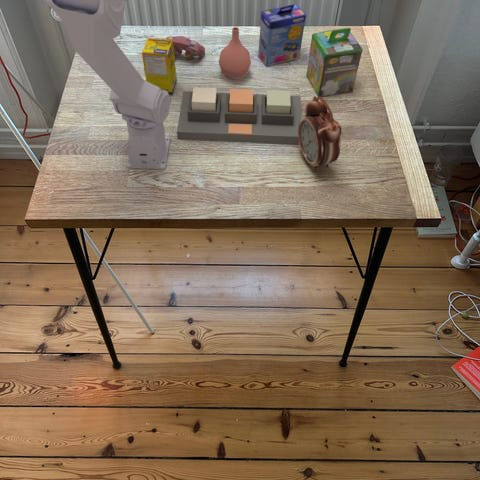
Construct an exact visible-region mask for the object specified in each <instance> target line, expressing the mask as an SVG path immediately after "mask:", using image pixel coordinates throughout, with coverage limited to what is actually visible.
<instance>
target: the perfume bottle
mask: <svg viewBox="0 0 480 480" xmlns="http://www.w3.org/2000/svg"><path fill="white" fill-rule="evenodd" d="M231 31H232V32H231V33H232V34H231V40H230V41H229V43H228V44H227V45H226V46H224V48H222V49H221V51H220V53H219V58H218V63H219V64H218V65H219V67H220V71H221V73H222V75H224V76H225V77H227V78H230V79H240V78H243V77H245V76H247V75H248V72H249V69H250V66H251V65H252V62H251V61H252V60H251V55H250V51H249V50H248V48H246V47H245V46H244V45H243V44H242V42H241V40H240V28H239V27H237V26H235V27H234V26H233V27H231Z"/></svg>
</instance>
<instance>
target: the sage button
mask: <svg viewBox="0 0 480 480" xmlns="http://www.w3.org/2000/svg"><path fill="white" fill-rule="evenodd" d="M266 95H267V97H266V113H269V114H290V107H291V104H290V96H291V91H290V90H267V89H266Z"/></svg>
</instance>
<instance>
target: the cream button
mask: <svg viewBox="0 0 480 480" xmlns="http://www.w3.org/2000/svg"><path fill="white" fill-rule="evenodd" d="M217 90H218V89H217V88H216V87H195V86H194V87H193V89H192V92H193V96H192V110H196V111H216V102H217V93H218V91H217Z"/></svg>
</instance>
